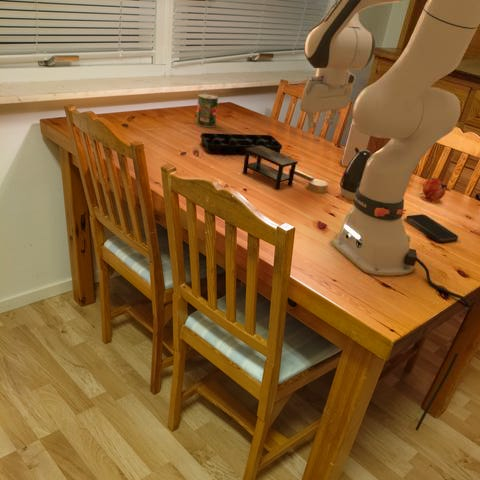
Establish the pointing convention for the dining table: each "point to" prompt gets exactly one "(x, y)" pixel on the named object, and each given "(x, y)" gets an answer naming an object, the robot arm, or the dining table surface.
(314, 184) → the ladle
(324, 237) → the dining table surface
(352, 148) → the milk carton
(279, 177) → the rack
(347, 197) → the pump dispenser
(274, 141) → the egg carton
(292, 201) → the dining table surface
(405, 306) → the dining table surface
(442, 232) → the phone
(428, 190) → the pomegranate
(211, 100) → the canned tomato
